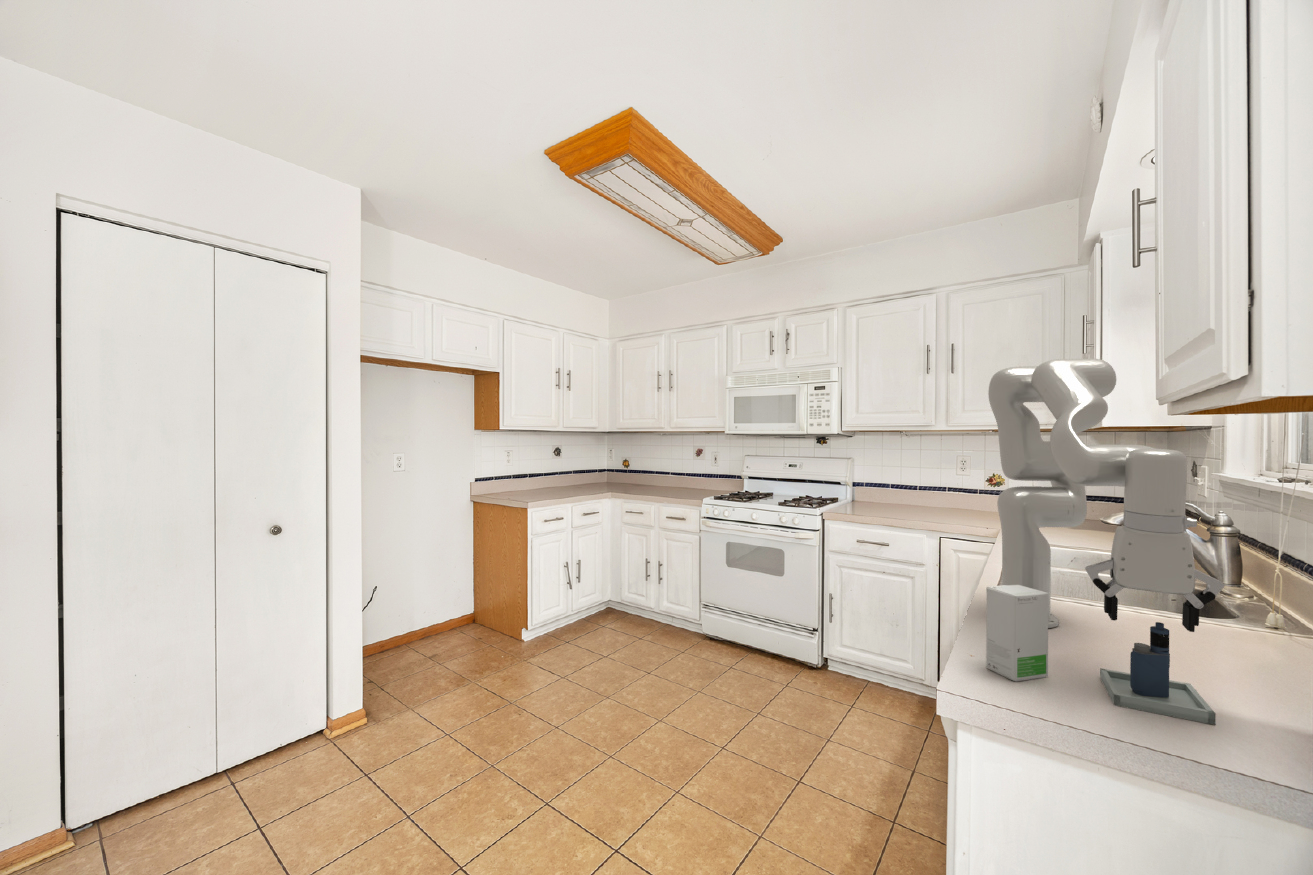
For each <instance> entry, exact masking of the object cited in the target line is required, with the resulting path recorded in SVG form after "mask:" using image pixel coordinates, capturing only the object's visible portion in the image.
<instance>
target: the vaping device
mask: <svg viewBox="0 0 1313 875" xmlns="http://www.w3.org/2000/svg"><path fill="white" fill-rule="evenodd" d="M1149 630H1150V631H1149V632H1150V634H1149V644H1146V643H1144V642H1143V643H1142V642H1134V643H1133V648H1132V649H1131V652H1130V660H1129V661H1130V663H1129V664H1130V665H1129V666H1130V667H1129V668H1130V669H1129V670H1130V672H1129V673H1130V686H1131V688H1132V691H1133V692H1134V693H1136V694H1138V695H1141V696H1150V697H1166V698H1168V697H1169V680H1170V666H1171V665H1170V662H1171V659H1170V658H1171V654H1170V630H1169V629H1168V628H1167V627H1166V628H1165V623H1163V622H1159V621H1156V622H1155V625H1154V626H1150V627H1149Z"/></svg>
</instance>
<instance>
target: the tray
mask: <svg viewBox="0 0 1313 875" xmlns="http://www.w3.org/2000/svg"><path fill="white" fill-rule="evenodd" d="M1099 678H1100V681H1101V683H1102V684H1103V687H1104V689H1105V690H1106V692H1107V694H1108V697H1109V698H1110V700H1111V702H1112V704H1113V706H1118V707H1122V708H1126V709H1127V708H1128V709H1132V710H1138V711H1143V712H1147V713H1154V714H1158V715H1161V716H1162V715H1163V716H1168V717H1173V718H1179V719H1182V720H1183V719H1184V720H1188V721H1193V722H1198V723H1203V724H1210V725H1214V726H1216V720H1217V719H1216V717H1217V716H1216V715H1217V714H1216V712H1215V711H1214V710H1213V708H1212V707H1211V706H1210V705H1209V703H1208V702H1206V700H1205V699H1204V698H1203V697H1202V696H1201V695H1200V693H1199V692H1198V691H1197V690H1196V689H1195V687H1194V686H1193V685H1192V684H1191V683H1188V682H1183V681H1176V680H1171V679H1169V697H1168V698H1166V697H1150V696H1141V695H1138V694H1136V693H1134V692H1133V691H1132V688H1131V686H1130V672H1124V671H1118V670H1112V669H1107V668H1106V669H1105V668H1099Z"/></svg>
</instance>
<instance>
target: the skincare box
mask: <svg viewBox="0 0 1313 875" xmlns="http://www.w3.org/2000/svg"><path fill="white" fill-rule="evenodd" d="M985 590H986V592H985V593H986V613H985V614H986V619H985V620H986V632H985V633H986V635H985V636H986V637H985V638H986V640H985V642H986V644H985V646H986V649H985V650H986V651H985V652H986V653H985V658H986V659H985V660H986V661H985V668H986V669H989V670H990V671H992V672H994V673H996V674H998V675H1000V676H1002V677H1004V678H1006V679H1008V680H1011V681H1013V682H1019V681H1026V680H1033V679H1034V680H1035V679H1041V678H1048V677H1049V628H1048V593H1047V592H1043V591H1040V590H1036V589H1032V588H1028V587H1025V586H1021V585H1002V584H1000V585H993V586H992V585H991V586H990V585H989V586H986V587H985Z"/></svg>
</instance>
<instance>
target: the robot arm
mask: <svg viewBox="0 0 1313 875" xmlns="http://www.w3.org/2000/svg"><path fill="white" fill-rule="evenodd" d="M1116 385H1117V374H1116V371H1115V369H1114V367H1113V366H1112V365H1111V364H1110V363H1108V362H1107V361H1105V360H1104V359H1101V358H1100V359H1099V358H1060V359H1059V358H1058V359H1051V360H1047V361H1045V362H1042V363H1040V364H1039V365H1037V366H1036V365H1035V366H1031V365H1030V366H1013V367H1008V368H1003V369H1000V370H997V372H995V373H994V374H993V375H992V377H991V379H990V381H989V385H988V390H987V392H988V393H987V394H988V402H989V404H990V407H991V408H990V409H991V411H992V414H993V416H994V419H995V421H996V425H997V432H998V436H997V437H998V443H999V447H998V448H999V457H1000V464H1001V470H1002V472H1003V474H1004V476H1005V477H1006V478H1008V479H1009V480H1013V481H1026V482H1050V484H1051V486H1035V485H1034V486H1029V485H1028V486H1023V485H1022V486H1013V487H1009V488H1006V489H1004V490H1002V491H1001V492H1000V493H999V495H998V497H997V512H998V516H999V522H1000V528H1001V529H1000V530H1001V550H1002V551H1001V552H1002V554H1001V558H1002V559H1001V563H1002V564H1001V567H1002V568H1001V571H1002V572H1001V574H1002V575H1001V585H1021V586H1025V587H1028V588H1032V589H1036V590H1040V591H1043V592H1047V593H1048V629H1052V628H1056V627H1058V626H1059V625H1060V622H1059V621H1060V620H1059V617H1057V616H1056V615H1054V614H1053V613H1051V599H1052V598H1051V586H1052V585H1051V579H1052V578H1051V576H1052V574H1051V570H1052V568H1051V566H1052V564H1051V561H1052V556H1051V555H1052V554H1051V553H1052V550H1051V546H1050V543H1049V541H1048V540H1047V539H1046V537H1045V536H1044V534H1043V533H1042V532H1041V530H1040V528H1074V527H1075V528H1076V527H1079V526H1081V525H1082V524H1083V523H1084V521H1085V520H1086V518H1087V515H1088V505H1087V504H1088V503H1087V495H1086V494H1087V492H1086V487H1123V488H1124V492H1123V493H1124V494H1123V495H1124V496H1123V518H1122V519H1123V524H1122V526H1121V525H1120V526H1119V525H1118V526H1117V527H1116V529H1115V532H1114V534H1113V535H1114V536H1113V539H1112V546H1111V552H1110V559H1107V560H1104V561H1100V562H1097V563H1093V564H1090V565H1086V566H1085V567H1084V568H1085V572H1086V573H1087V576H1088V577H1089V578H1090V580H1091V581H1092V583H1093V584H1094V586H1096V588H1098V589H1099V590H1100V591H1101V592H1102V593H1103V595H1104V596H1103V597H1104V598H1103V599H1104V601H1103V612H1104V613H1105V614H1107V615H1108V617H1109V619H1110V621H1115V622H1116V621H1117V620H1118V608H1119V606H1118V604H1119V603H1118V602H1119V599H1118V597H1117V596H1116V595H1117V594H1118V593H1119V592H1121V591H1122V590H1124V589H1130V590H1137V591H1145V592H1152V593H1154V592H1155V593H1162V594H1169V595H1179V596H1180V595H1181V596H1182V597H1183V598H1184V599H1186V600H1185V601H1184V602H1183V603H1182V616H1181V617H1182V618H1181V619H1182V620H1181V625H1182V626H1183V628H1185V629H1186V630H1187V631H1188V632H1190V633H1195V627H1199V626H1200V610H1201V609H1203V608H1204V606H1206V604H1208V603H1210V602H1212V601H1214V600H1215V599H1216V596H1217V595H1219V593H1221V591H1222V590H1223V589H1224V588H1225V583H1223V582H1222V581H1220V580H1219V579H1217V578H1215V577H1212V576H1210V575H1208V574H1206V573H1204V572H1202V571H1201V570H1198V569H1196V568H1195V558H1194V548H1193V544H1192V540H1191V536H1190V534H1189V533H1188V532H1187V529H1189V528H1191V527H1192V528H1197V527H1198V521H1197V519H1196V518H1190V517H1188V516H1187V515H1186V506H1187V505H1186V504H1187V503H1186V499H1187V481H1188V480H1187V477H1188V475H1187V474H1188V458H1187V456H1186V454H1185V453H1184V452H1182V451H1180V450H1176V449H1167V448H1166V449H1165V448H1164V449H1163V448H1155V447H1152V446H1149V445H1143V444H1142V445H1141V444H1086V443H1084V442H1083V440H1082V439H1081V438H1080V437H1079V435H1078V434H1080V433H1082V432H1085V431H1086V430H1089V429H1091V428H1093V427H1096V426H1097V425H1098V424H1099V423H1101V422H1102V421H1103V420H1104V418H1105V417H1106V416H1107V414H1108V412H1109V411H1108V410H1109V405H1108V403H1107V401H1106V400H1105V399H1104V397H1105V398H1106V396H1108V395H1110V394H1111V393H1112V392H1113V391H1114V390H1115V387H1116ZM1024 403H1044V404H1045V406H1046V407H1047V409H1048V410H1049V412H1050V413H1051V414H1052V416H1053V418H1054V419H1055V423H1054V424H1053V426H1052V429H1051V431H1050V437H1049V440H1048V441H1045V440H1043V439H1042V436H1041V424H1040V421H1039V420H1038V417H1037V416H1036V415H1035V413H1033V412H1032V410H1030V409H1029V408H1028V407H1027V406H1026V405H1025V404H1024ZM1105 571H1109V576H1110V578H1111V580H1109V581H1108V582H1104V581H1103V580H1102V579H1101V577H1100V576H1099V573H1102V572H1105ZM1196 580H1198V581H1200V582H1202V583H1205V584H1206V587H1205V589H1203V590H1201V591H1199V592H1198V593H1196V594H1194V591H1195V588H1196Z"/></svg>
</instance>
